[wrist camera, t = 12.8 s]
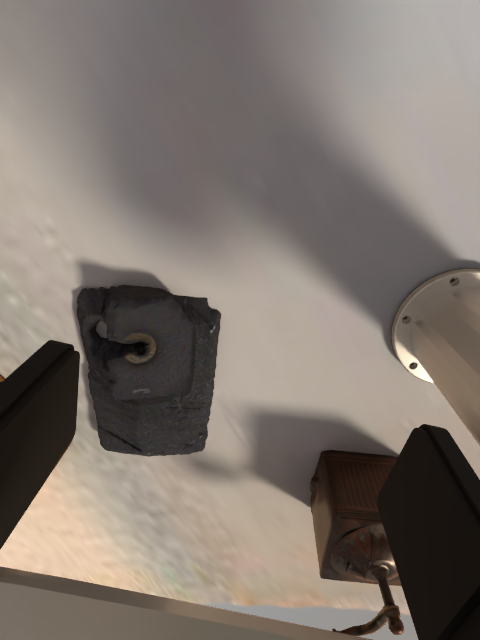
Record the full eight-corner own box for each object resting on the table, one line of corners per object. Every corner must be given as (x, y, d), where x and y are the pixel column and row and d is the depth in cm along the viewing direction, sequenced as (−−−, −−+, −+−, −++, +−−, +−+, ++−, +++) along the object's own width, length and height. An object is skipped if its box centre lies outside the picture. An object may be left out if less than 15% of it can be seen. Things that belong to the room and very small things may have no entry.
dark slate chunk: (90, 438, 49) (73, 466, 45) (79, 274, 40) (57, 290, 35) (209, 453, 49) (203, 483, 44) (225, 292, 40) (220, 310, 35)
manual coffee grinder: (316, 447, 47) (343, 609, 30) (406, 456, 47) (484, 624, 30) (299, 533, 53) (314, 704, 37) (378, 541, 53) (429, 717, 37)
